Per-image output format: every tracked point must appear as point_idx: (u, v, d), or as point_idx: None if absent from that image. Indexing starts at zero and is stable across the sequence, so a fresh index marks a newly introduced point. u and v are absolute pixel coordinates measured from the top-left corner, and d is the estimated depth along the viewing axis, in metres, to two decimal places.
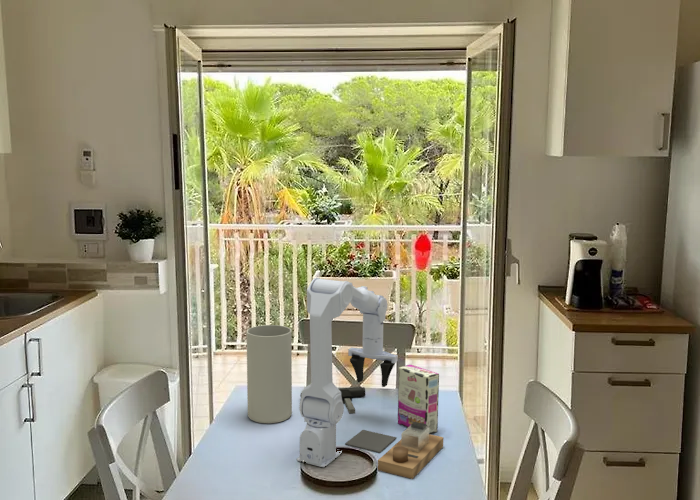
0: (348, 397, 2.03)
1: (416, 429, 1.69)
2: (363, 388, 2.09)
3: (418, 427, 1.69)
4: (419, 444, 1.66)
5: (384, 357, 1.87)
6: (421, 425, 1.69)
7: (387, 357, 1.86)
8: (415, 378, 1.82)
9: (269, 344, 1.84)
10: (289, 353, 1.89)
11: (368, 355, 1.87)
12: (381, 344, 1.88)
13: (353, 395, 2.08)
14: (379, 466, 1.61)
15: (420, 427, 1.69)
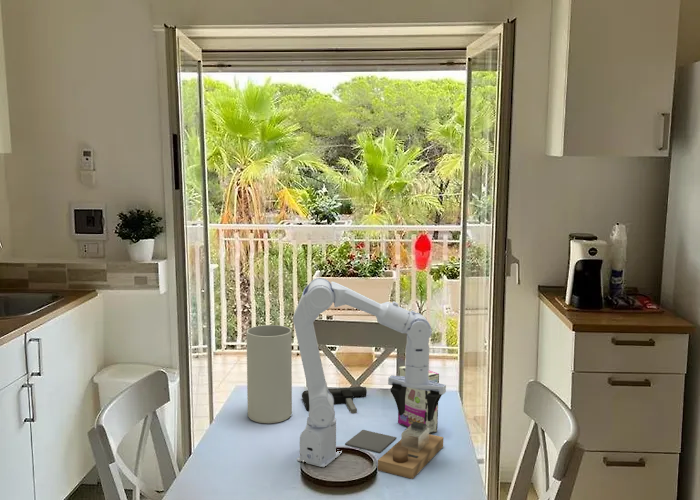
0: (349, 397, 2.03)
1: (416, 429, 1.69)
2: (364, 388, 2.09)
3: (418, 427, 1.69)
4: (419, 444, 1.66)
5: (431, 387, 1.63)
6: (421, 425, 1.69)
7: (434, 387, 1.63)
8: None
9: (269, 344, 1.84)
10: (289, 353, 1.89)
11: (412, 385, 1.64)
12: (427, 372, 1.65)
13: (354, 395, 2.08)
14: (379, 466, 1.61)
15: (420, 427, 1.69)
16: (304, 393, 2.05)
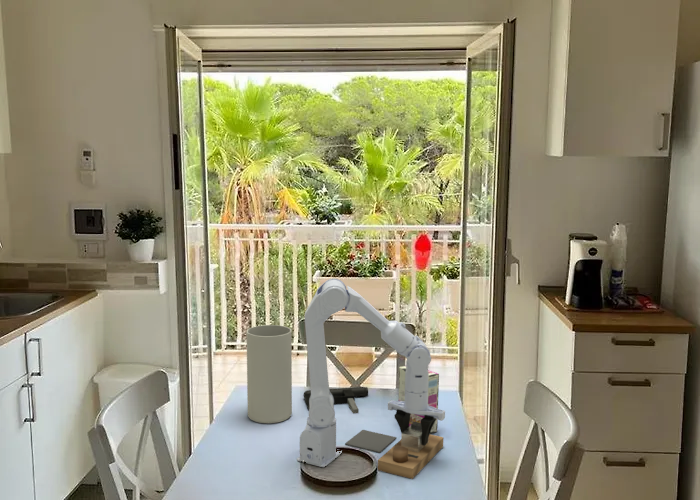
0: (351, 397, 2.03)
1: (416, 429, 1.69)
2: (366, 388, 2.10)
3: (418, 427, 1.69)
4: (419, 444, 1.66)
5: (430, 413, 1.64)
6: None
7: (433, 413, 1.64)
8: None
9: (269, 344, 1.84)
10: (289, 353, 1.89)
11: (411, 411, 1.65)
12: (426, 398, 1.66)
13: (356, 395, 2.08)
14: (379, 466, 1.61)
15: (420, 427, 1.69)
16: (306, 393, 2.05)
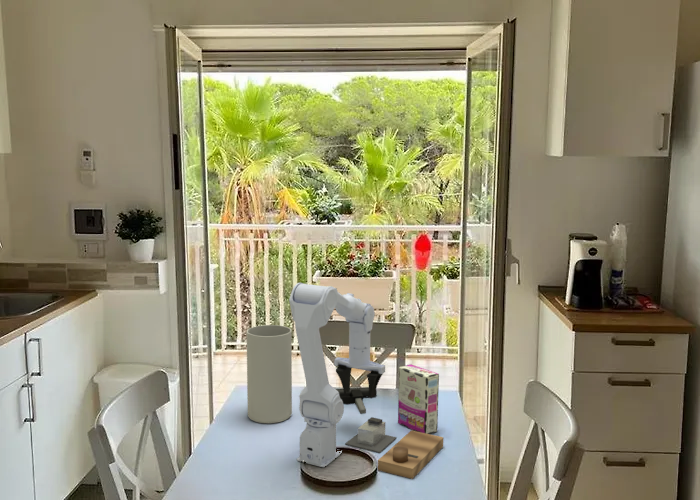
0: (359, 397, 2.03)
1: (373, 424, 1.77)
2: None
3: (374, 422, 1.77)
4: (374, 438, 1.74)
5: (371, 367, 1.80)
6: (377, 420, 1.77)
7: (374, 367, 1.80)
8: (415, 378, 1.82)
9: (269, 344, 1.84)
10: (289, 353, 1.89)
11: (354, 365, 1.81)
12: (368, 354, 1.81)
13: (364, 395, 2.08)
14: (379, 466, 1.61)
15: (376, 422, 1.77)
16: None
